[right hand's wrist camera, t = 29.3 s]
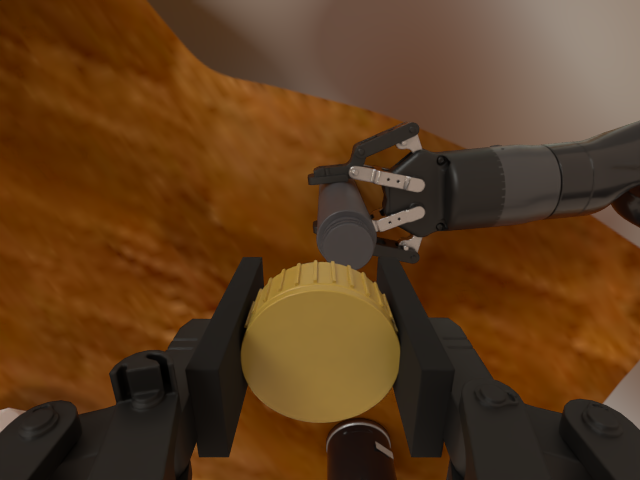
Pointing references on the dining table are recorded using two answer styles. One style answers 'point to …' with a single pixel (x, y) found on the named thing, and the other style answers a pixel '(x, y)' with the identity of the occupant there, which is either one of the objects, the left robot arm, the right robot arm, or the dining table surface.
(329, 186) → the dark grey cylinder
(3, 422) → the sphere
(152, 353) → the right robot arm
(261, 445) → the dining table surface
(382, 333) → the lid
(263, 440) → the dining table surface
